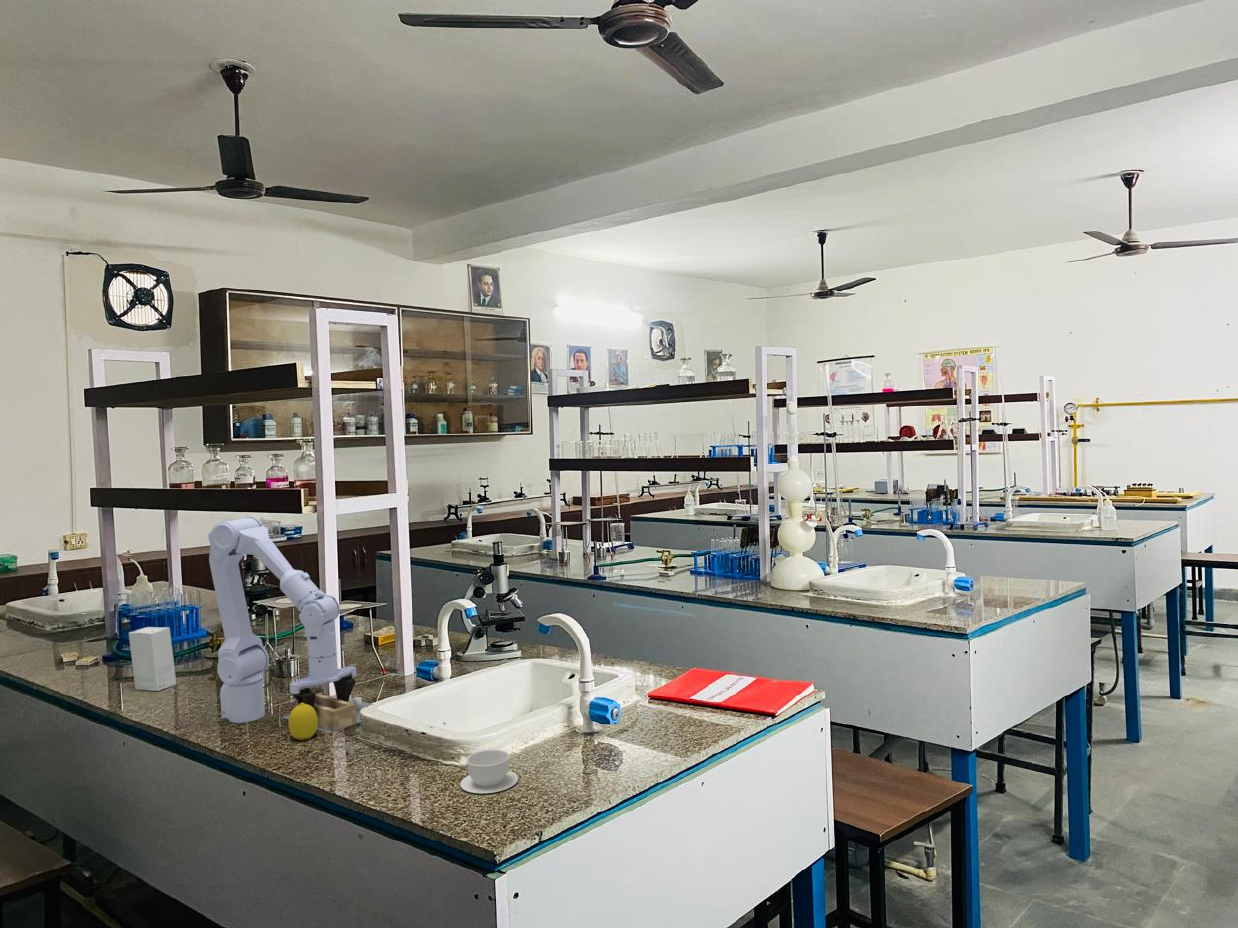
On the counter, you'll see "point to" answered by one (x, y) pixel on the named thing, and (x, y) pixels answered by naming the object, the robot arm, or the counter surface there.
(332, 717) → the open wooden crate
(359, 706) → the board
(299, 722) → the lemon
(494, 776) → the teacup
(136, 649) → the skincare box
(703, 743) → the counter surface
